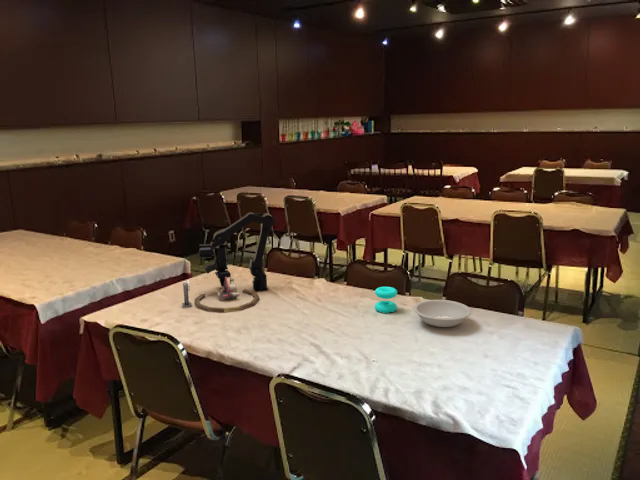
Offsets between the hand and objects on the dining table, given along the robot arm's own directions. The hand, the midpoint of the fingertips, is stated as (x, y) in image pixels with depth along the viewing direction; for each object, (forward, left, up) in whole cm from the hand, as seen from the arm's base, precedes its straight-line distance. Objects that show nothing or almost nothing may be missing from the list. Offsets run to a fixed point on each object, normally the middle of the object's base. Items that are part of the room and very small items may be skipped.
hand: (222, 286), depth 275 cm
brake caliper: (-1, +10, -3) cm, 10 cm away
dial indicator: (+19, +14, -3) cm, 24 cm away
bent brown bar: (0, +16, -3) cm, 16 cm away
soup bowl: (-81, +75, -3) cm, 110 cm away
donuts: (-66, +52, -3) cm, 84 cm away
